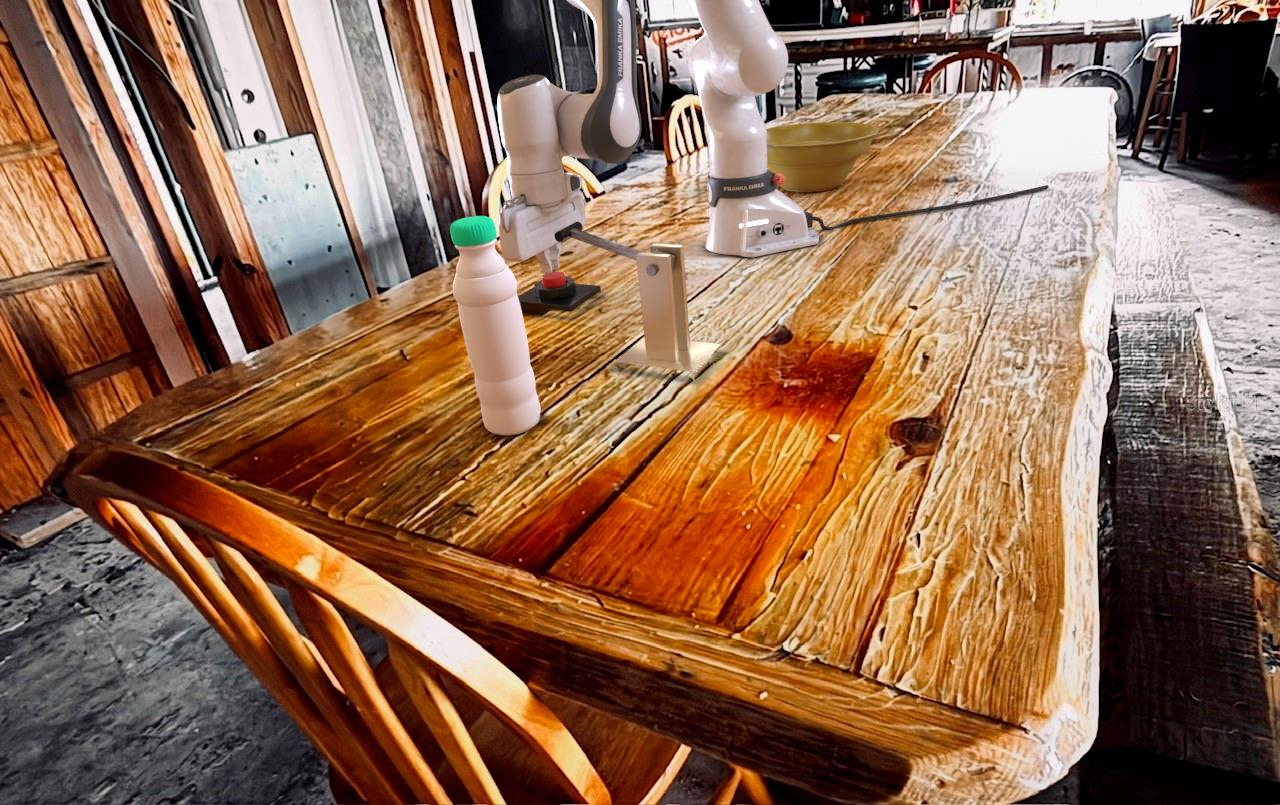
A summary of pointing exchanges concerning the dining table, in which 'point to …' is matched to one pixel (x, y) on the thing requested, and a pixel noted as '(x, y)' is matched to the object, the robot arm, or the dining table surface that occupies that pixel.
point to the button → (553, 279)
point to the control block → (556, 297)
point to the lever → (601, 242)
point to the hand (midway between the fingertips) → (551, 271)
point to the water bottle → (493, 329)
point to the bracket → (665, 315)
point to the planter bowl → (816, 153)
